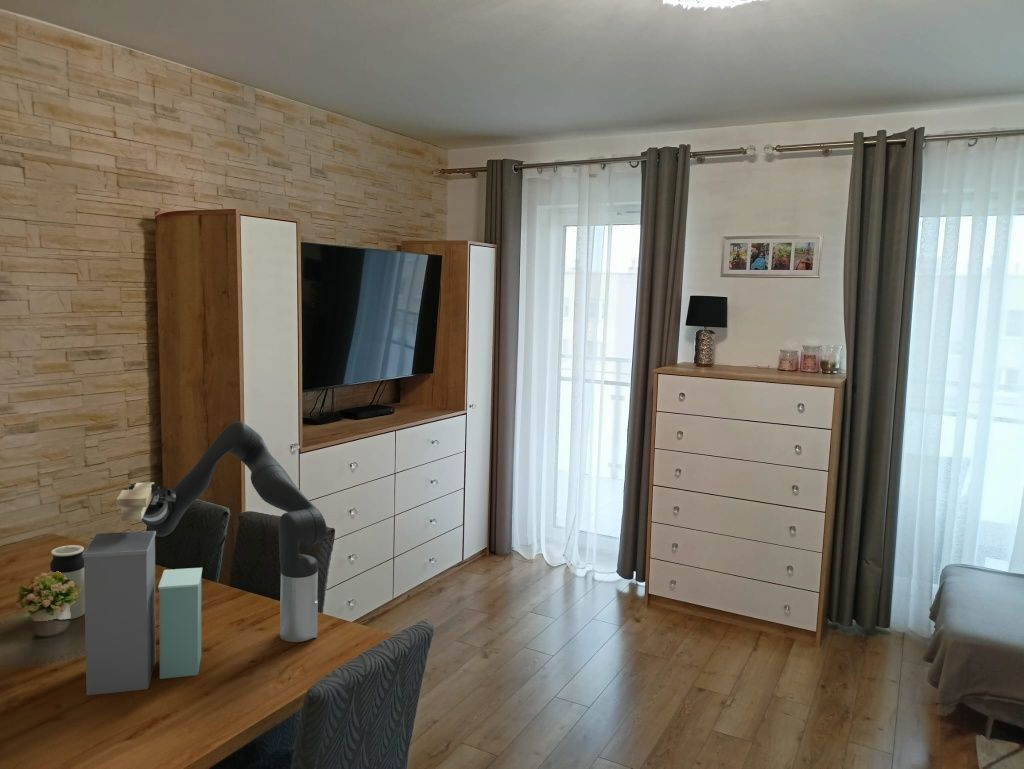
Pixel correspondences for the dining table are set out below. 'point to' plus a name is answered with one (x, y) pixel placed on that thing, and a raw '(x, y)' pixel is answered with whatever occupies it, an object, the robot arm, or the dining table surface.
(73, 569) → the travel mug
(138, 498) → the beige stepped bar
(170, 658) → the tall pale green pillar
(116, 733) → the dining table surface
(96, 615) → the stand
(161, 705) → the dining table surface
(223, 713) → the dining table surface
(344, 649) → the dining table surface
